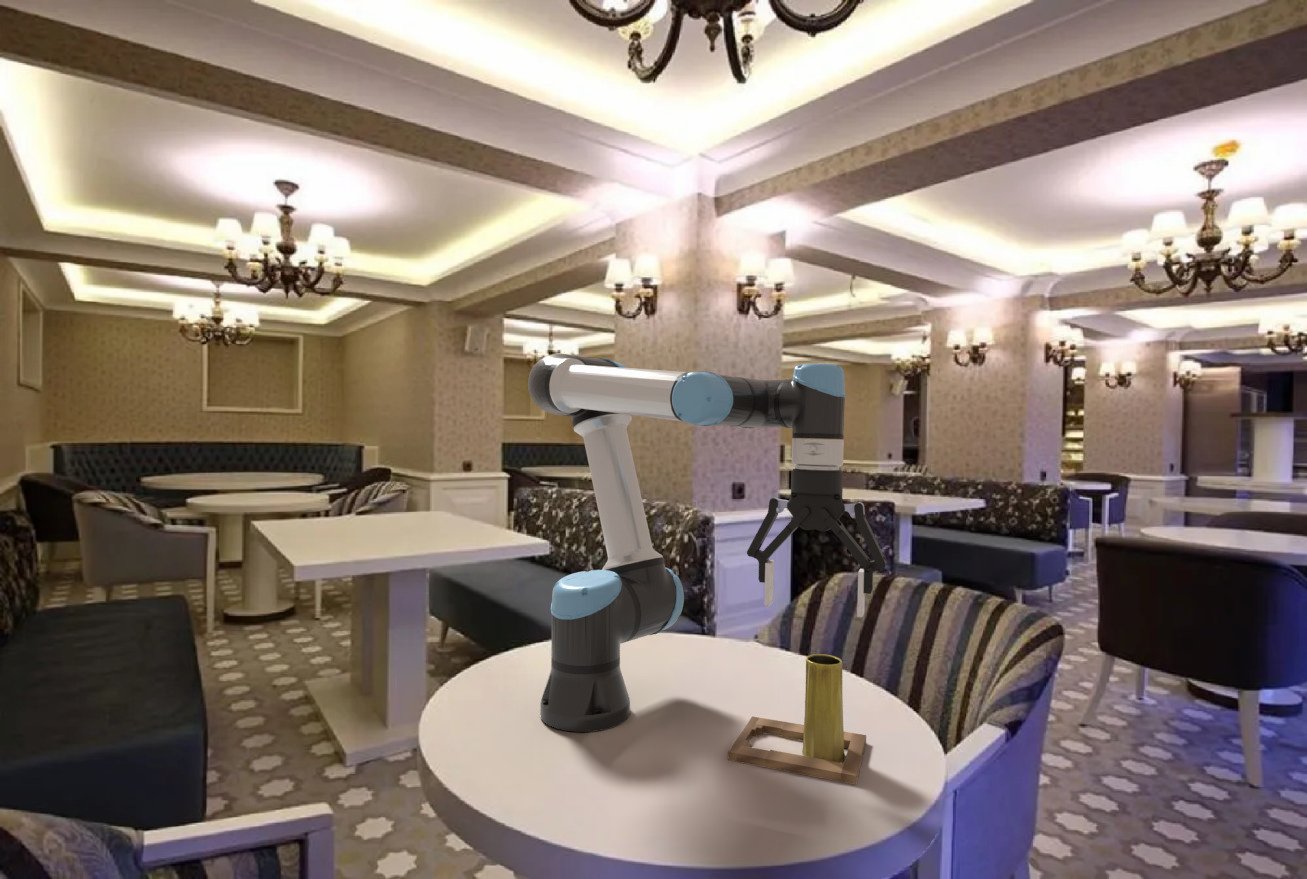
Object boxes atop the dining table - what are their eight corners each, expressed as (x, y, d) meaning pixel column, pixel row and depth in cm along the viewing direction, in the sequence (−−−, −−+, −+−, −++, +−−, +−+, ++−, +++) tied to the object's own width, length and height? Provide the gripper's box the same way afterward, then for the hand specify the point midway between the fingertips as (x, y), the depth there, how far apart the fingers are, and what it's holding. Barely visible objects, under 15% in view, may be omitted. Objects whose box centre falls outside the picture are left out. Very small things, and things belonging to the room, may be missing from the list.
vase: (846, 767, 97) (846, 667, 97) (802, 763, 98) (803, 664, 98) (843, 748, 103) (843, 654, 103) (801, 744, 104) (802, 651, 104)
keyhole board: (728, 759, 99) (728, 751, 99) (752, 723, 112) (752, 716, 112) (856, 784, 92) (856, 775, 92) (866, 742, 105) (866, 735, 105)
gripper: (729, 465, 103) (726, 605, 103) (904, 472, 93) (900, 626, 94) (742, 463, 110) (739, 594, 110) (906, 470, 100) (903, 613, 101)
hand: (813, 609), depth 102 cm, fingers open, 13 cm apart
